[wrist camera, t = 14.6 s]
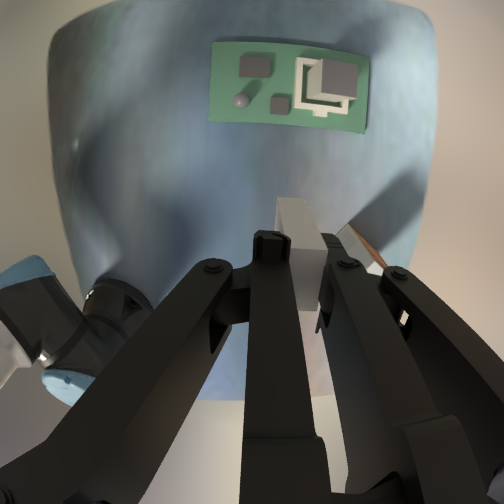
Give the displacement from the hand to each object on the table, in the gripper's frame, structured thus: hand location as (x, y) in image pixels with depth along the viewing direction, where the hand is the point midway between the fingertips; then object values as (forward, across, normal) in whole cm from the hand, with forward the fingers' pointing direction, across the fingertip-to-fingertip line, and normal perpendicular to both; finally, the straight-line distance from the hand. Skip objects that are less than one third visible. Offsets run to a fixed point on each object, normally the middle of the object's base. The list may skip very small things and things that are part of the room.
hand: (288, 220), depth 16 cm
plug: (+25, +6, +11) cm, 28 cm away
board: (+26, +2, +11) cm, 29 cm away
